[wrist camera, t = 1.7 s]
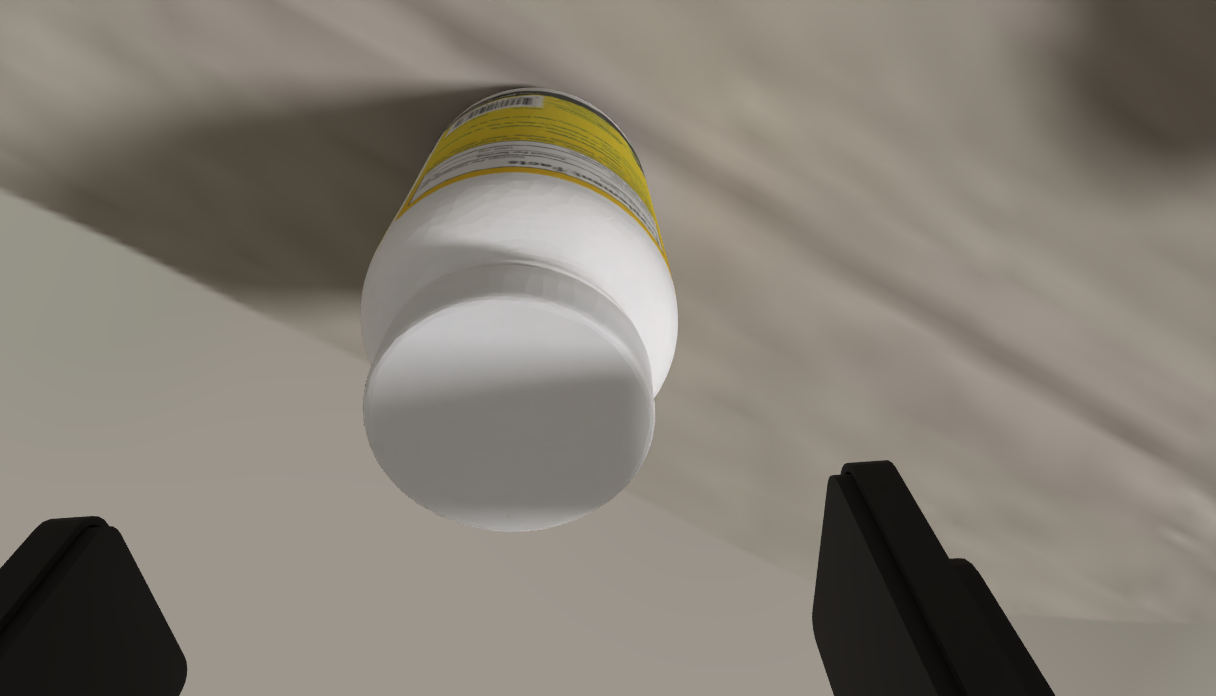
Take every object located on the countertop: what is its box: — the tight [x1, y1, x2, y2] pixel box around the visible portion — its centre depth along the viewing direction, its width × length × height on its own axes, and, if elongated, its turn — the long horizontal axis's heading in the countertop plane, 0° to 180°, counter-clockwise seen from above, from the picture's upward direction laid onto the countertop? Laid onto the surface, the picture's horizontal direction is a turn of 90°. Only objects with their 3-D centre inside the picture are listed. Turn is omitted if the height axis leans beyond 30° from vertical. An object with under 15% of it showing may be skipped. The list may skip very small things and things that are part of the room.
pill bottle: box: [361, 88, 678, 532], centre depth 17 cm, size 6×6×11 cm
